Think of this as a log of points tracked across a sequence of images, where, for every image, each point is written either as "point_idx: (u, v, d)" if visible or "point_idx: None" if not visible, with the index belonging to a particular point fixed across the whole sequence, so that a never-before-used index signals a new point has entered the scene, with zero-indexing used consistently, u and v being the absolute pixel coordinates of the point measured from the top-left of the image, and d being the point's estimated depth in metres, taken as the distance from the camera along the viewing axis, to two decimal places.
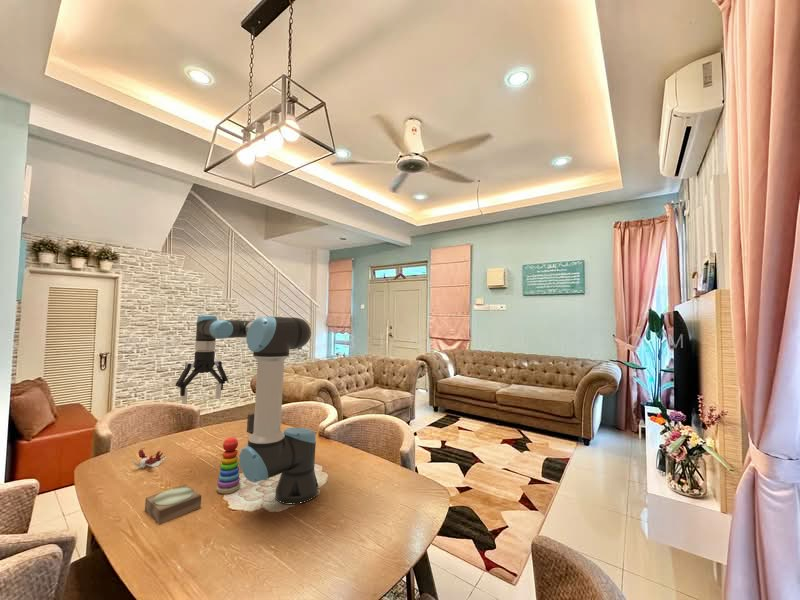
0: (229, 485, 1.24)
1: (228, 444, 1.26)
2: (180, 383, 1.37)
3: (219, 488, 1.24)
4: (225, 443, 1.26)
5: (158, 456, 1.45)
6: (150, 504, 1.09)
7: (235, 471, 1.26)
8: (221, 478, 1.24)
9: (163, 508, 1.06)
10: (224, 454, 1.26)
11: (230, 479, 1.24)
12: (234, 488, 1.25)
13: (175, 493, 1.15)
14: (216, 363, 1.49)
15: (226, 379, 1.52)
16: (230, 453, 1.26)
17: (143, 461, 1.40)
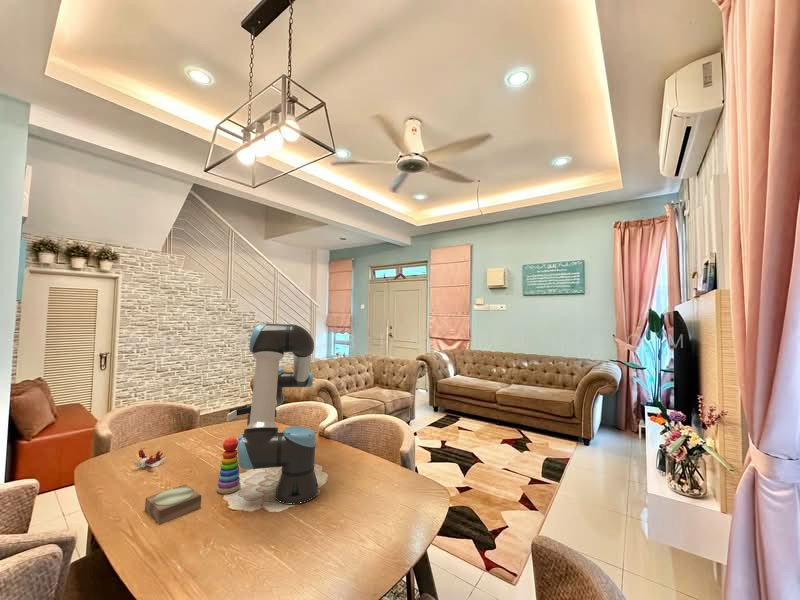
0: (229, 485, 1.24)
1: (228, 444, 1.26)
2: None
3: (219, 488, 1.24)
4: (225, 443, 1.26)
5: (158, 456, 1.45)
6: (150, 504, 1.09)
7: (235, 471, 1.26)
8: (221, 478, 1.24)
9: (163, 508, 1.06)
10: (224, 454, 1.26)
11: (230, 479, 1.24)
12: (234, 488, 1.25)
13: (175, 493, 1.15)
14: None
15: (275, 411, 1.46)
16: (230, 453, 1.26)
17: (143, 461, 1.40)
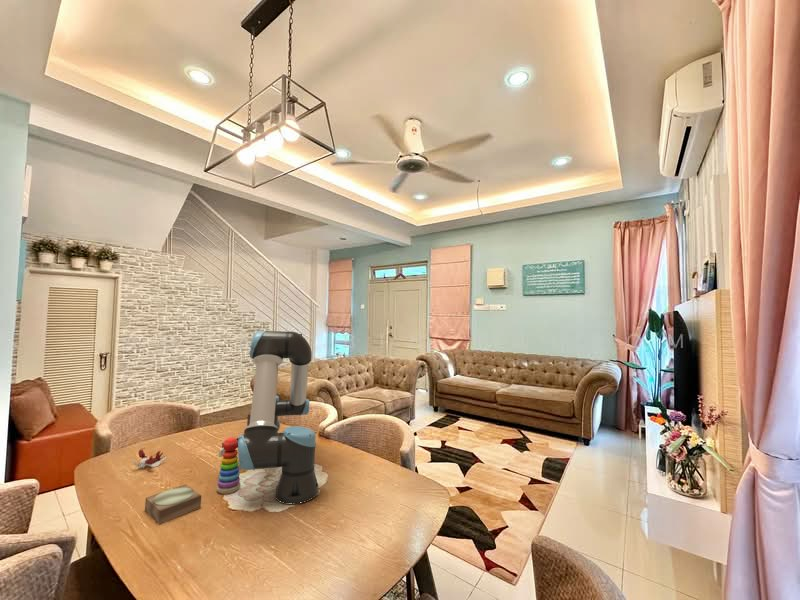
0: (229, 485, 1.24)
1: (228, 444, 1.26)
2: None
3: (219, 488, 1.24)
4: (225, 443, 1.26)
5: (158, 456, 1.45)
6: (150, 504, 1.09)
7: (235, 471, 1.26)
8: (221, 478, 1.24)
9: (163, 508, 1.06)
10: (224, 454, 1.26)
11: (230, 479, 1.24)
12: (234, 488, 1.25)
13: (175, 493, 1.15)
14: None
15: None
16: (230, 453, 1.26)
17: (143, 461, 1.40)
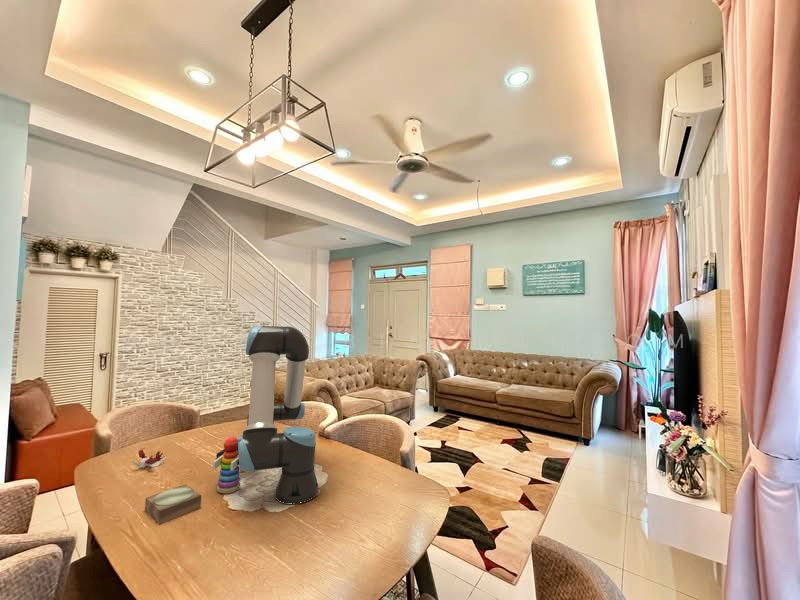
0: (229, 485, 1.23)
1: (229, 444, 1.25)
2: (219, 452, 1.31)
3: (219, 488, 1.24)
4: (226, 443, 1.26)
5: (158, 456, 1.45)
6: (150, 504, 1.09)
7: (235, 471, 1.26)
8: (221, 477, 1.24)
9: (163, 508, 1.06)
10: (225, 454, 1.26)
11: (230, 479, 1.24)
12: (234, 488, 1.25)
13: (175, 493, 1.15)
14: None
15: None
16: (231, 453, 1.26)
17: (143, 461, 1.40)
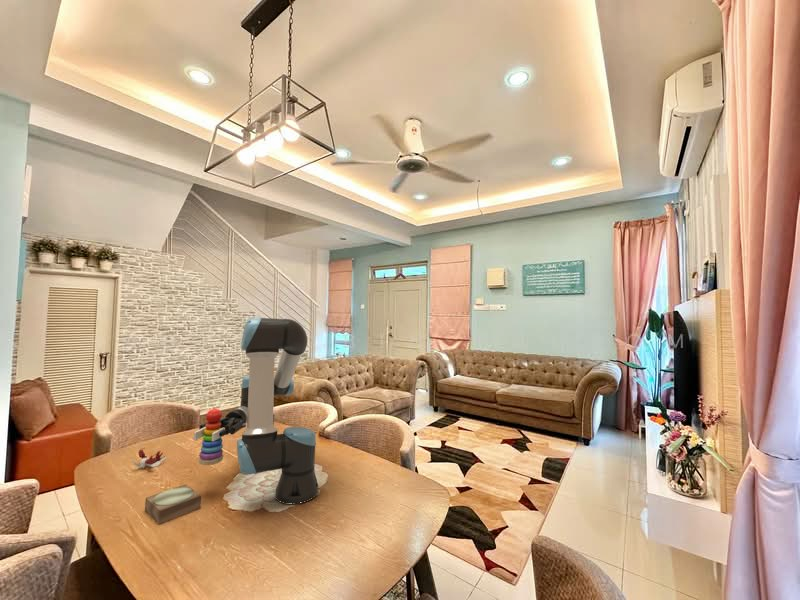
0: (211, 457, 1.20)
1: (211, 415, 1.22)
2: (202, 424, 1.28)
3: (201, 459, 1.20)
4: (208, 414, 1.23)
5: (158, 456, 1.45)
6: (150, 504, 1.09)
7: (218, 443, 1.22)
8: (203, 449, 1.21)
9: (163, 508, 1.06)
10: (207, 425, 1.22)
11: (212, 451, 1.21)
12: (216, 460, 1.21)
13: (175, 493, 1.15)
14: None
15: (233, 427, 1.27)
16: (213, 424, 1.23)
17: (143, 461, 1.40)
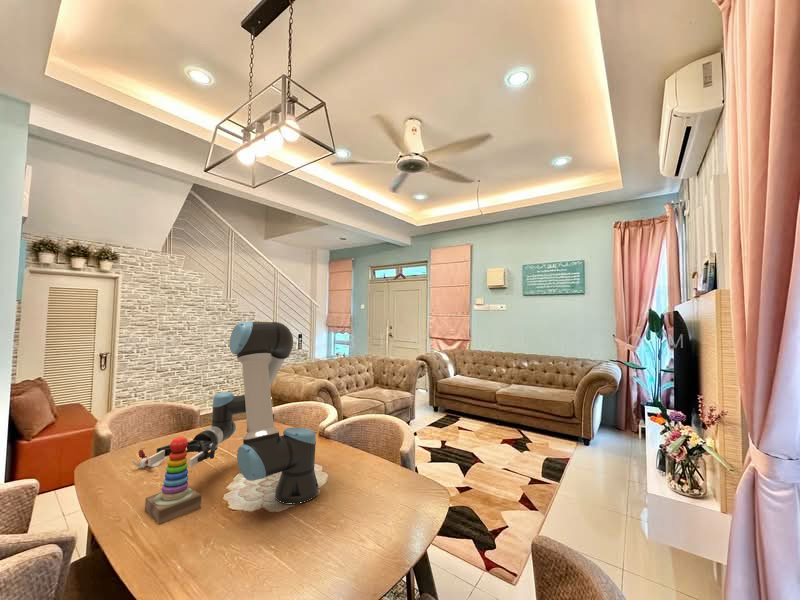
0: (174, 490, 1.10)
1: (175, 444, 1.12)
2: (161, 447, 1.19)
3: (163, 494, 1.10)
4: (172, 443, 1.13)
5: None
6: (150, 504, 1.09)
7: (182, 475, 1.12)
8: (166, 482, 1.10)
9: (163, 508, 1.06)
10: (170, 455, 1.12)
11: (176, 484, 1.11)
12: (180, 494, 1.11)
13: None
14: (212, 444, 1.26)
15: (212, 450, 1.18)
16: (177, 454, 1.12)
17: (143, 461, 1.40)
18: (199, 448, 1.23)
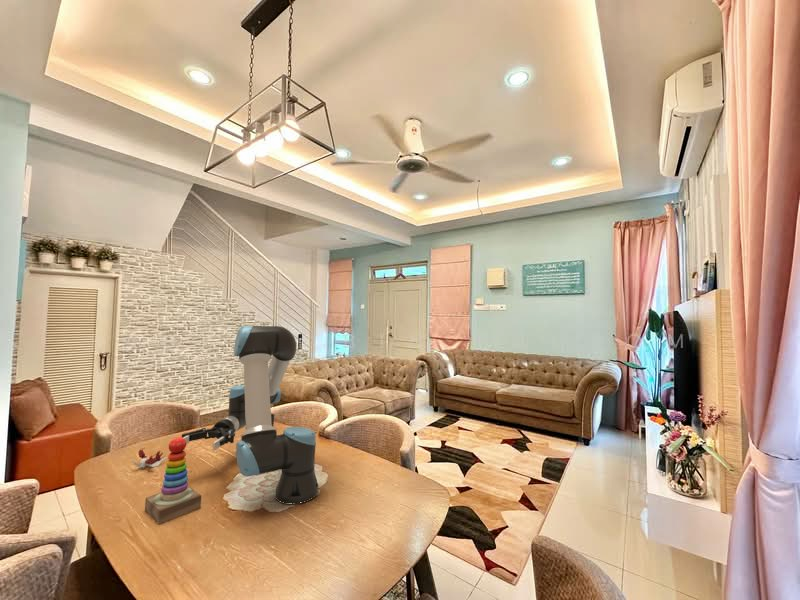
0: (174, 491, 1.10)
1: (174, 445, 1.12)
2: (185, 433, 1.33)
3: (162, 494, 1.10)
4: (171, 444, 1.12)
5: (158, 456, 1.45)
6: (150, 504, 1.09)
7: (182, 475, 1.12)
8: (165, 482, 1.10)
9: (163, 508, 1.06)
10: (169, 456, 1.12)
11: (175, 484, 1.10)
12: (180, 494, 1.11)
13: None
14: None
15: (232, 436, 1.32)
16: (176, 455, 1.12)
17: (143, 461, 1.40)
18: (219, 434, 1.36)
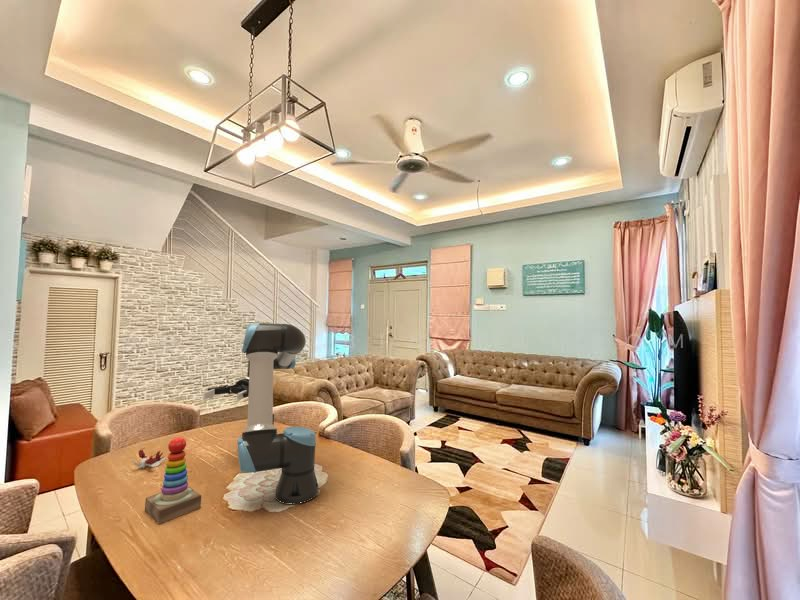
0: (173, 491, 1.10)
1: (173, 445, 1.12)
2: (211, 388, 1.46)
3: (162, 494, 1.10)
4: (170, 444, 1.12)
5: (158, 456, 1.45)
6: (150, 504, 1.09)
7: (181, 475, 1.12)
8: (165, 482, 1.10)
9: (163, 508, 1.06)
10: (169, 456, 1.12)
11: (175, 484, 1.10)
12: (180, 494, 1.11)
13: None
14: None
15: None
16: (176, 455, 1.12)
17: (143, 461, 1.40)
18: (241, 390, 1.49)
